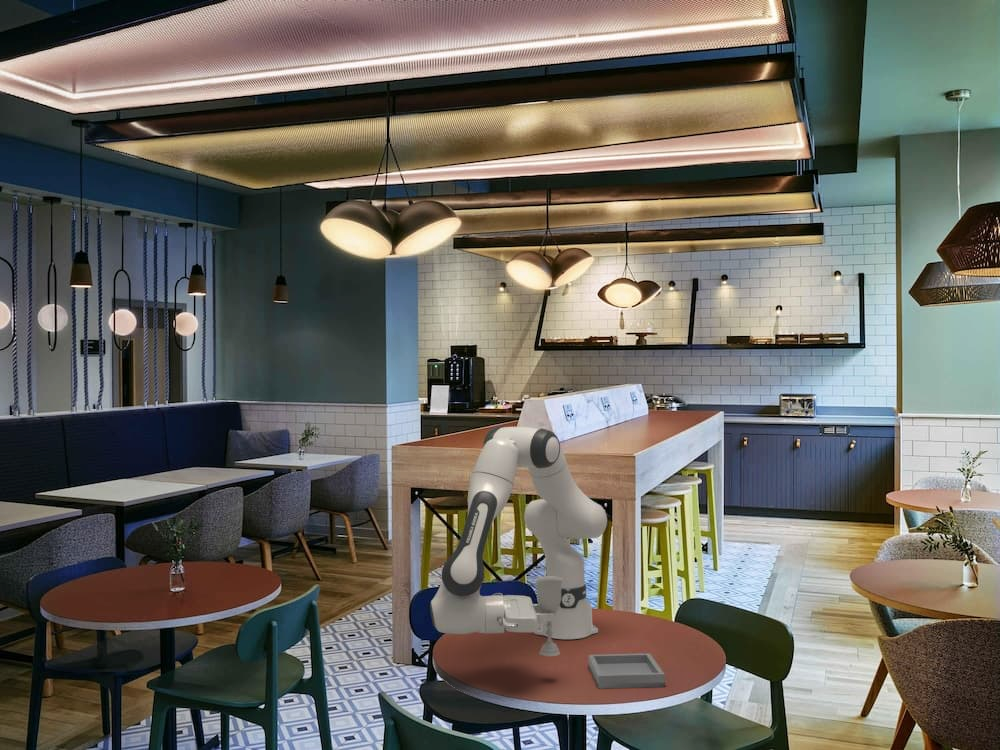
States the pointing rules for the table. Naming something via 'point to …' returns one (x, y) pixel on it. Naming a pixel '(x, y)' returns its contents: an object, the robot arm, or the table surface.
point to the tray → (626, 671)
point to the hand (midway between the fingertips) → (553, 613)
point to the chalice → (549, 607)
